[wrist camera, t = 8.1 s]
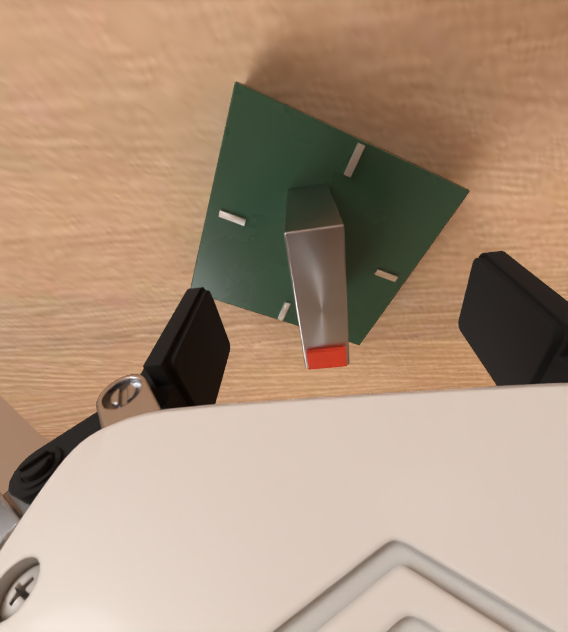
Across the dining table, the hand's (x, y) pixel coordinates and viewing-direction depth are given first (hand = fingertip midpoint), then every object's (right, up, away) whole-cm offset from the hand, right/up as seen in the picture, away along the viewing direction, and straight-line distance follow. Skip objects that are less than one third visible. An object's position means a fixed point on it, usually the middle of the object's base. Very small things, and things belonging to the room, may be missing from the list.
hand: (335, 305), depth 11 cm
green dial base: (0, +5, +7) cm, 9 cm away
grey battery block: (0, +3, +5) cm, 6 cm away
